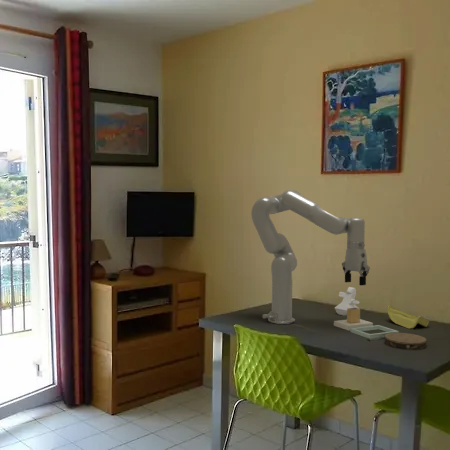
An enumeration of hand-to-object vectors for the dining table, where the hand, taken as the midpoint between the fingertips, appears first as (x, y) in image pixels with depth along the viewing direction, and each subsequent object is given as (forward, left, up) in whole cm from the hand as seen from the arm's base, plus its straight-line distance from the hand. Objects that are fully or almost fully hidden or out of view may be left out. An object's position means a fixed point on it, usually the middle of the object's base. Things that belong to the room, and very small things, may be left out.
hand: (355, 283), depth 238 cm
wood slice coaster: (+2, -29, -21) cm, 36 cm away
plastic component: (+30, -3, -21) cm, 36 cm away
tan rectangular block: (0, 0, -19) cm, 19 cm away
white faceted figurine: (+17, +24, -21) cm, 36 cm away
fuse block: (0, 0, -20) cm, 20 cm away
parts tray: (0, -13, -20) cm, 24 cm away
